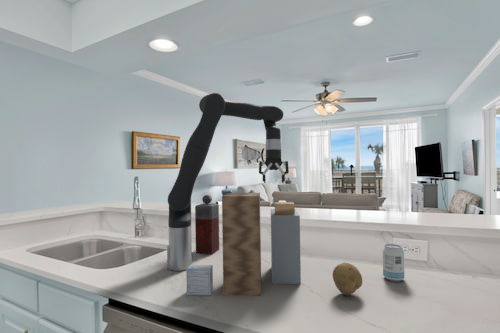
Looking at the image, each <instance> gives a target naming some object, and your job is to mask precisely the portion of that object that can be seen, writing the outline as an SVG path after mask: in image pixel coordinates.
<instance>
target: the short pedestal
mask: <svg viewBox="0 0 500 333" xmlns="http://www.w3.org/2000/svg"><path fill="white" fill-rule="evenodd" d="M300 217H301V216H300V214H299V213H298V211H297V209H295V215H275V208H271V209H270V249H271V250H270V251H271V252H270V254H271V255H270V256H271V257H270V258H271V260H270V262H271V265H270V266H271V283H272V285H275V284H276V285H279V284H281V285H285V284H286V285H287V284H289V285H296V284H297V285H301V283H302V282H301V281H302V280H301V279H302V278H301V273H302V272H301V270H302V269H301V268H302V267H301V218H300Z"/></svg>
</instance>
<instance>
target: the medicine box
mask: <svg viewBox="0 0 500 333" xmlns="http://www.w3.org/2000/svg"><path fill="white" fill-rule="evenodd" d="M185 271H186V272H185V273H186V274H185V275H186V296H211V294H212V293H213V290H214V277H213V276H214V274H213V273H214V272H213V271H214V270H213V265H212V264H192V265H190V266H189V267H188V268H187V269H186V270H185Z"/></svg>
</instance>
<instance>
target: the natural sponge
mask: <svg viewBox="0 0 500 333" xmlns="http://www.w3.org/2000/svg"><path fill="white" fill-rule="evenodd" d="M332 279H333V282H334V285H335V287H336V288H337V290H338V291H339V293H341V294H342V295H344V296H347V297H349V296H351V295H352V294H354V293H356V292H357V290H358V289H360V288H361V287H362V285H363V276H362V273H361V272H360V270H359V269H358V268H357V266H355V265H353V264H352V263H349V262H342V263H339V264H337V265H336V266H335V267H334V268H333V270H332Z"/></svg>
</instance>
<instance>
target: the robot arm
mask: <svg viewBox="0 0 500 333" xmlns="http://www.w3.org/2000/svg"><path fill="white" fill-rule="evenodd" d="M198 105H199V106H198V107H199V110H200V111H201V113H202V115H201V117H200V121H199V122H198V125H197V126H196V128H195V129H194V130H193V132H192V133H191V135H190V136H189V139H188V141H187V144H186V146H185V149H184V152H183V155H182V158H181V163H180V166H179V172H178V175H177V178H176V179H175V182H174V184H173V186H172V188H171V190H170V192H169V193H168V197H167V204H168V245H167V246H166V259H167V260H166V262H167V264H166V266H167V268H166V270H170V271H175V272H176V271H177V272H178V271H179V272H181V271H186V269H187V268H188V267H189V266H190V265H193V263H192V262H193V261H192V260H193V258H192V255H193V254H192V194H193V190H194V187H195V183H196V180H197V178H198V176H199V175H200V172H201V170H202V168H203V166H204V164H205V161H206V158H207V156H208V154H209V153H208V152H209V150H210V147H211V144H212V142H213V138H214V134H215V131H216V128H217V127H218V124H219V122H220V120H221V118H222V116H227V117H235V118H236V117H237V118H240V119H241V118H242V119H249V120H254V121H263V126H264V129H265V161H261V160H260V161H259V165H258V174H259V175H261V176H262V182H264V184H266V181H267V180H266V174H267V172H269V170H270V171H278V170H279V173H281V183H282V184H284V183H285V181H286V175H287V174H289V171H290V170H289V161H287V160H285V161H284V160H283V161H282V142H281V140H282V139H281V137H282V136H281V128H279V127H277V122H280V121H281V120H282V119H283V118H284V111H283V109H282V108H281V107H279V106H275V105H260V104H254V103H249V102H233V101H227V100H225V98H224V96H223V95H222V94H220V93H217V92H212V93H208V94H206V95H204V96H203V97H202V98H201V99H200V101H199V104H198ZM264 165H265V166H266V167H265V169H264V171H262V170H263V169H262V168H263V167H262V166H264ZM282 165H283V167H285V171H284V170H283V169H282V167H281V166H282Z"/></svg>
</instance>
